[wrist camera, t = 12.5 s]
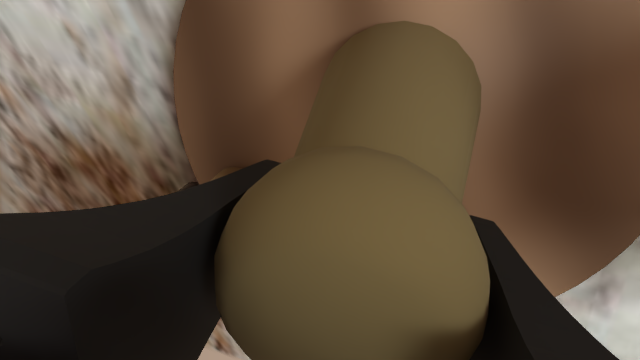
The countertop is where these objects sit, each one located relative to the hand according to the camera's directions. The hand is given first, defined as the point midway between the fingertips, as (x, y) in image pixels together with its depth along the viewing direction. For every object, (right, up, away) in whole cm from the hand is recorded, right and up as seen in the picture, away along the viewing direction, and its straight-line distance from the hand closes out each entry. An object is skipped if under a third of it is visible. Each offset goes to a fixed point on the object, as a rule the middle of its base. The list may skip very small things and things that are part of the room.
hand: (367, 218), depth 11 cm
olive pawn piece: (+2, +4, +4) cm, 6 cm away
